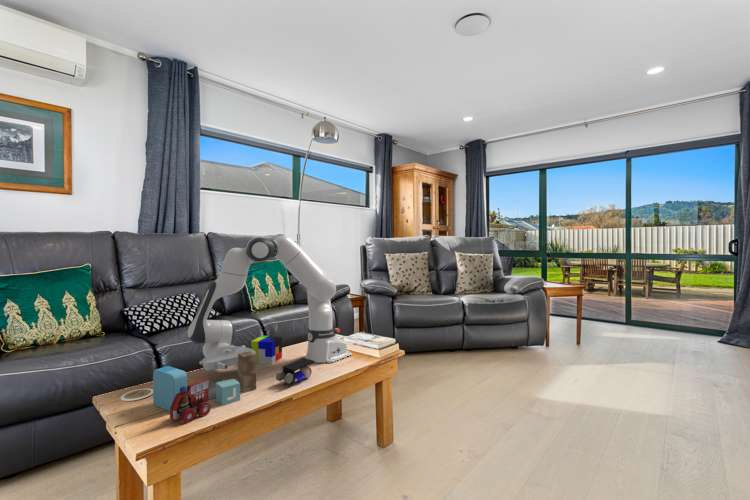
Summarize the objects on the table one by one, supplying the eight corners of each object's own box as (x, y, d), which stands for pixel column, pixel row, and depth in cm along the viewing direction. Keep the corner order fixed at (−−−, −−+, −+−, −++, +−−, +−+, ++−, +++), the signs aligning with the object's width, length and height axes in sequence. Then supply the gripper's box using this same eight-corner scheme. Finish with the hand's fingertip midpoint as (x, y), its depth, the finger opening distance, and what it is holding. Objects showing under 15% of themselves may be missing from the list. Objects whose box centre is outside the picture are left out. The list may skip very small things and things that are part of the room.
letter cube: (233, 395, 130) (233, 378, 130) (240, 400, 126) (240, 383, 126) (215, 399, 126) (215, 382, 126) (222, 405, 122) (222, 387, 122)
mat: (220, 380, 144) (220, 379, 144) (237, 392, 132) (237, 391, 132) (193, 386, 137) (193, 385, 137) (208, 400, 126) (208, 399, 126)
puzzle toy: (271, 364, 163) (271, 342, 163) (251, 363, 165) (251, 341, 165) (281, 357, 173) (282, 336, 173) (262, 356, 175) (262, 335, 175)
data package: (187, 407, 120) (187, 371, 120) (173, 413, 116) (173, 375, 116) (166, 399, 126) (166, 364, 126) (152, 404, 122) (152, 368, 122)
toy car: (288, 393, 135) (316, 376, 148) (286, 374, 134) (314, 358, 147) (275, 389, 139) (303, 373, 152) (274, 370, 138) (302, 355, 151)
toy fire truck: (164, 422, 110) (164, 387, 110) (202, 406, 121) (202, 375, 121) (176, 428, 107) (176, 392, 107) (215, 412, 117) (215, 379, 117)
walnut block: (249, 385, 139) (249, 351, 139) (256, 389, 135) (256, 354, 135) (238, 388, 136) (238, 353, 136) (244, 392, 132) (244, 356, 132)
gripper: (197, 353, 145) (209, 362, 135) (247, 344, 159) (262, 351, 149) (197, 369, 145) (209, 379, 135) (247, 358, 159) (262, 366, 149)
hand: (237, 364), depth 142 cm, fingers open, 8 cm apart
